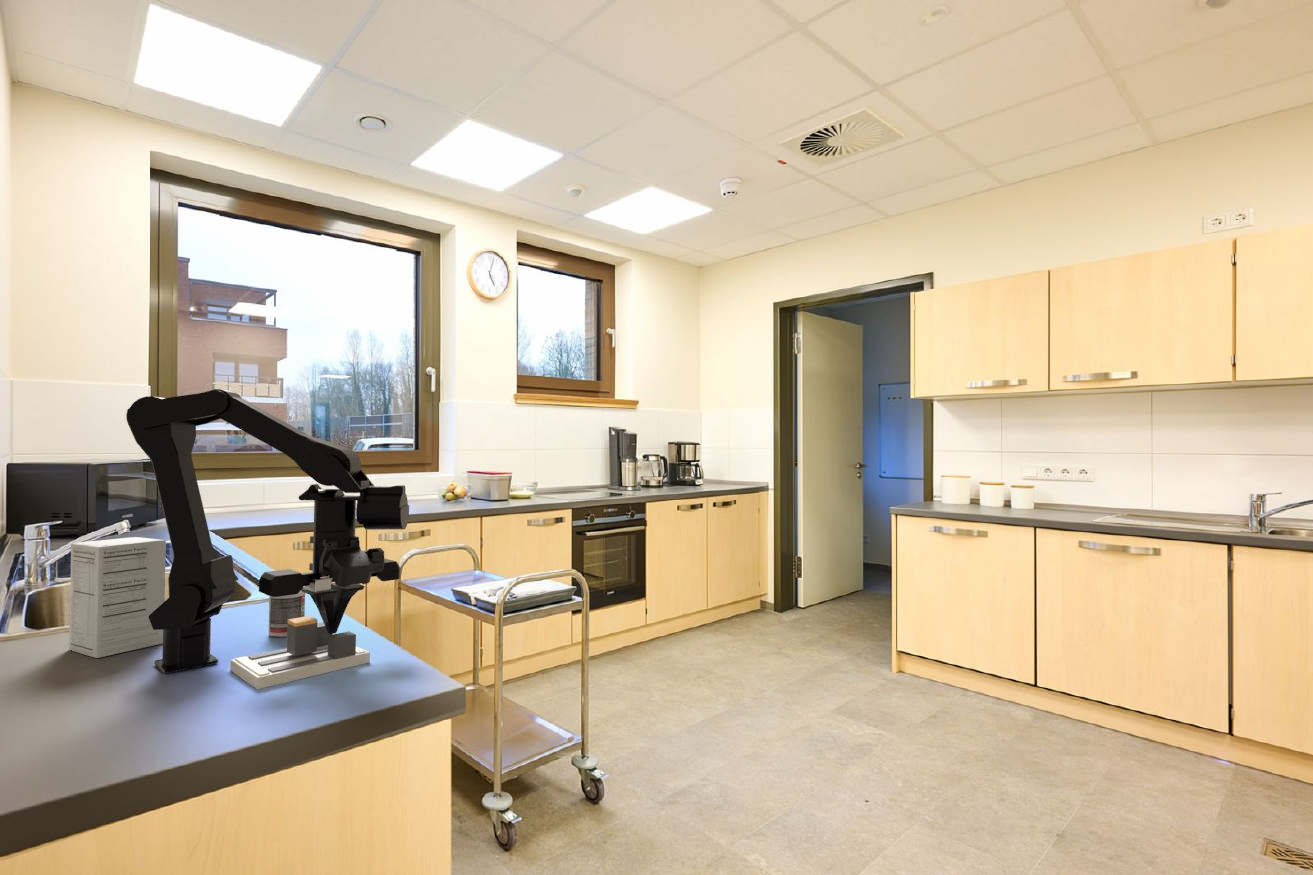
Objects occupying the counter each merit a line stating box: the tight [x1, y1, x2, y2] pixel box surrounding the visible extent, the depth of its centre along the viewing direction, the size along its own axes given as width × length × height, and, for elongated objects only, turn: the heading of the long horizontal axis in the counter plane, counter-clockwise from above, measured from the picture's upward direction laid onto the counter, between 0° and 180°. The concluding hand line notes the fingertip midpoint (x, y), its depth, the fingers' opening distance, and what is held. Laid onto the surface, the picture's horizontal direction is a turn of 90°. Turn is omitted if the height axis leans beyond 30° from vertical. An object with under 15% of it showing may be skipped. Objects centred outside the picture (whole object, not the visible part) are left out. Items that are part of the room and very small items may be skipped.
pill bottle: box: [268, 591, 306, 638], centre depth 112 cm, size 5×5×10 cm
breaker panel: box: [229, 621, 371, 690], centre depth 95 cm, size 11×15×4 cm
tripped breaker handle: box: [286, 615, 319, 656], centre depth 95 cm, size 3×3×5 cm
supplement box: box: [68, 536, 167, 659], centre depth 104 cm, size 10×9×17 cm
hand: (332, 633), depth 99 cm, fingers closed
